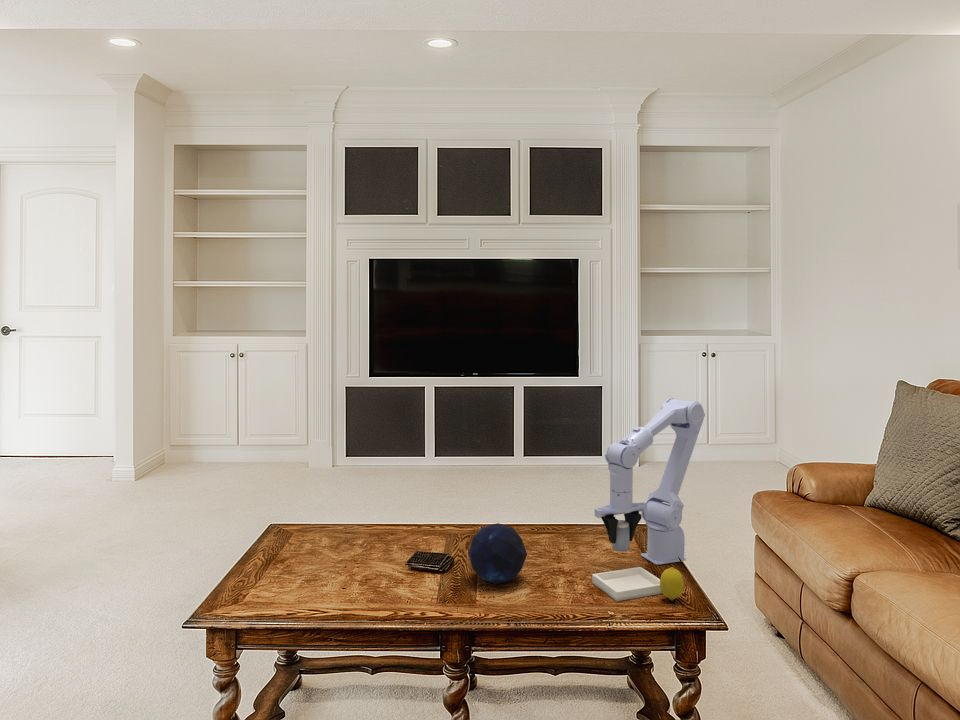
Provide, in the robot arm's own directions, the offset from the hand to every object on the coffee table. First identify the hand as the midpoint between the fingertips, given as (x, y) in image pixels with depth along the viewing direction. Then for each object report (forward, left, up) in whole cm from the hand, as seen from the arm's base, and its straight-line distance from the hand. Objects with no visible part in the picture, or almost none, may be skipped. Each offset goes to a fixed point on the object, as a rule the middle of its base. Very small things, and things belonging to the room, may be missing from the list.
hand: (620, 541), depth 193 cm
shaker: (0, 0, -2) cm, 2 cm away
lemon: (-2, +20, -8) cm, 22 cm away
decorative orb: (+32, -6, -8) cm, 34 cm away
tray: (+4, +10, -8) cm, 13 cm away
